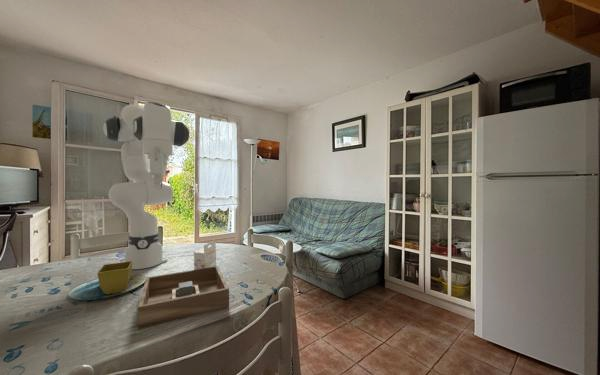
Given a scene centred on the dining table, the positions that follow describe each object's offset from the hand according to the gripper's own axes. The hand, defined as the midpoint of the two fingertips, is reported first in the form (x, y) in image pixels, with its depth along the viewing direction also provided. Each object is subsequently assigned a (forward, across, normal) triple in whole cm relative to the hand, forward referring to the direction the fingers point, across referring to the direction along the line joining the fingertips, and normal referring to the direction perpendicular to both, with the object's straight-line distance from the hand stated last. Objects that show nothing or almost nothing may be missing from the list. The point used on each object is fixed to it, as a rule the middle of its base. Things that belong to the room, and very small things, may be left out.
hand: (158, 189), depth 83 cm
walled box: (+37, -10, -8) cm, 39 cm away
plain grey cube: (+36, -10, -8) cm, 38 cm away
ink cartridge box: (+37, +7, -16) cm, 41 cm away
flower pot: (+37, +9, +14) cm, 41 cm away
